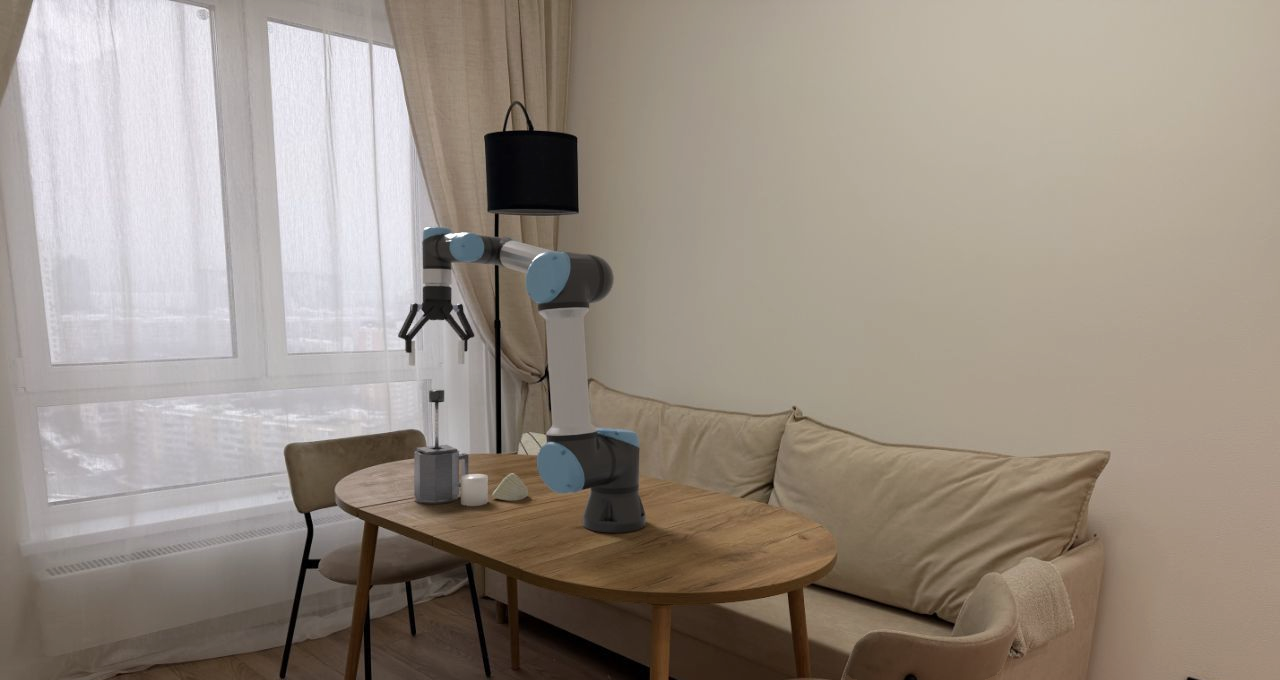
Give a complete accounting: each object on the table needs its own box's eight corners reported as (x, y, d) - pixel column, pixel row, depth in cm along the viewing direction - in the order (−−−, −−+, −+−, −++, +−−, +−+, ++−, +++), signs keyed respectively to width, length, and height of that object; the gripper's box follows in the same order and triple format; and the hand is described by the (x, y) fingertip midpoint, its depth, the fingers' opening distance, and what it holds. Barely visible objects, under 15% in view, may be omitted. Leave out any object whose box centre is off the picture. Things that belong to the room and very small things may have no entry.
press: (474, 499, 208) (474, 448, 207) (423, 506, 200) (423, 453, 199) (459, 490, 217) (459, 442, 216) (409, 497, 209) (409, 447, 208)
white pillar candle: (491, 503, 203) (491, 477, 203) (466, 507, 199) (466, 480, 199) (481, 498, 209) (481, 472, 209) (456, 501, 205) (456, 475, 205)
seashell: (536, 490, 208) (515, 480, 204) (517, 514, 209) (495, 504, 204) (526, 474, 215) (505, 463, 210) (507, 497, 215) (486, 487, 210)
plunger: (455, 461, 206) (455, 391, 205) (427, 464, 202) (427, 392, 201) (445, 456, 212) (445, 388, 212) (418, 459, 208) (418, 389, 207)
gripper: (475, 287, 216) (475, 362, 216) (386, 284, 201) (386, 365, 202) (486, 286, 209) (486, 364, 210) (394, 283, 195) (394, 366, 196)
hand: (437, 364), depth 206 cm, fingers open, 13 cm apart
